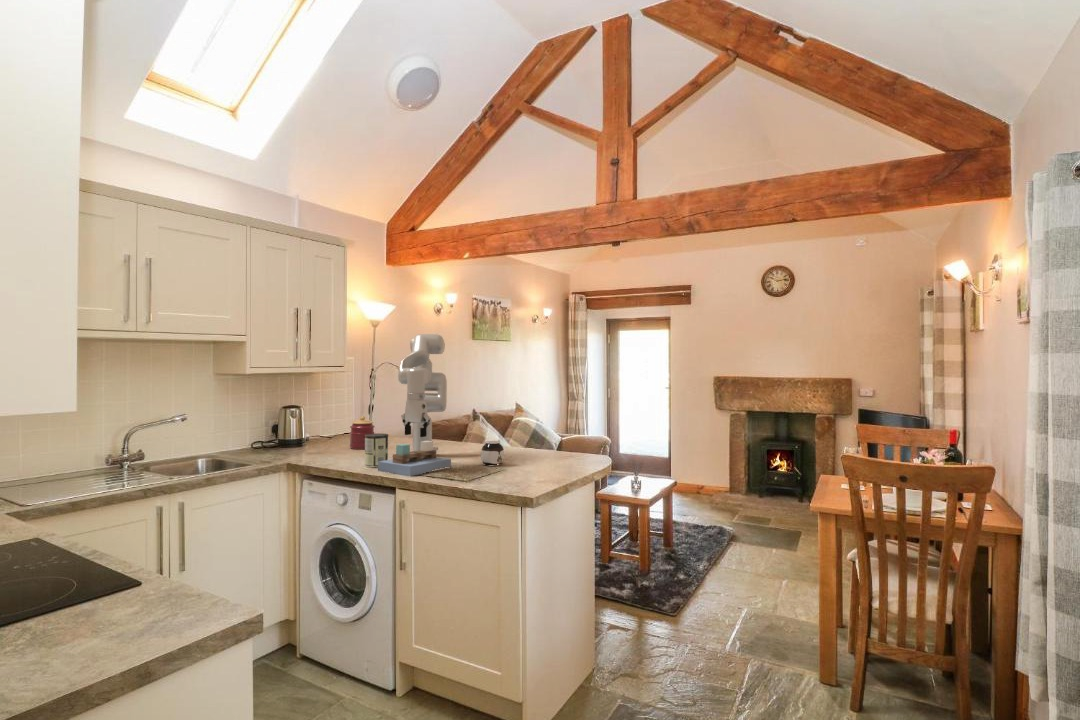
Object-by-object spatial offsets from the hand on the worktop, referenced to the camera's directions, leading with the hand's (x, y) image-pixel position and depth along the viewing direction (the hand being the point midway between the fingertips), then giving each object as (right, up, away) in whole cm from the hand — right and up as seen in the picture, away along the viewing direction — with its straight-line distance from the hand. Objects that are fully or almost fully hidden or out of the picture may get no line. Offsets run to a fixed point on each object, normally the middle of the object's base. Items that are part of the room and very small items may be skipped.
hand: (415, 435), depth 248 cm
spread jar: (+32, -15, +15) cm, 39 cm away
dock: (0, -15, -1) cm, 15 cm away
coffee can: (-20, -15, +8) cm, 26 cm away
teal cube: (-4, -7, -6) cm, 10 cm away
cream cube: (+4, -7, +5) cm, 10 cm away
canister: (-43, -16, +63) cm, 78 cm away
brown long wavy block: (0, -11, -1) cm, 11 cm away
